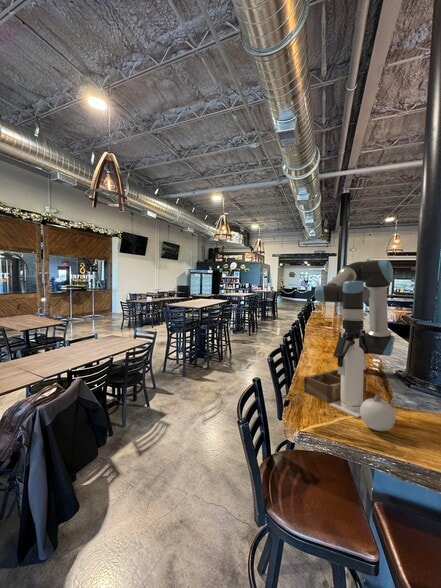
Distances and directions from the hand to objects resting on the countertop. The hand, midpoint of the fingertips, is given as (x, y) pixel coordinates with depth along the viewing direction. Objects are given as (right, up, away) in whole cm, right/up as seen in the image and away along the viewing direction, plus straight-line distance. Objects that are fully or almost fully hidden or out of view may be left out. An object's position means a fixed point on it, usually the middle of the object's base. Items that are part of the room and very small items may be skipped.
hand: (352, 371), depth 106 cm
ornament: (+1, -15, -16) cm, 22 cm away
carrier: (0, -14, +17) cm, 22 cm away
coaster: (0, -15, 0) cm, 15 cm away
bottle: (0, -14, 0) cm, 14 cm away
